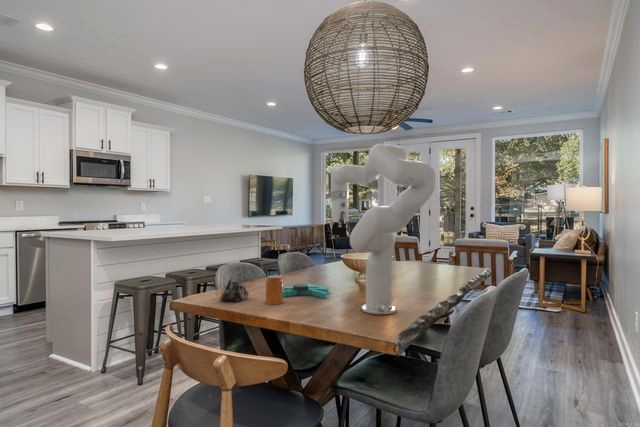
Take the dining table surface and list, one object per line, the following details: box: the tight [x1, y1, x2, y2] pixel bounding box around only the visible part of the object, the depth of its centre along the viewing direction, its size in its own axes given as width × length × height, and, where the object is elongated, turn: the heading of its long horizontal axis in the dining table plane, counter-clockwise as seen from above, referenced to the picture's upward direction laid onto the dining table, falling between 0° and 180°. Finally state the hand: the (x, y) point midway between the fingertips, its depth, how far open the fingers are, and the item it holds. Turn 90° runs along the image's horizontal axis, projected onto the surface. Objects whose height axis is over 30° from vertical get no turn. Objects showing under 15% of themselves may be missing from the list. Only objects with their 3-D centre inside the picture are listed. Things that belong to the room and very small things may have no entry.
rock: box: [219, 278, 250, 302], centre depth 169 cm, size 13×10×10 cm
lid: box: [293, 283, 309, 291], centre depth 181 cm, size 7×7×2 cm
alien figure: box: [282, 283, 330, 299], centre depth 184 cm, size 20×2×20 cm
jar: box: [265, 275, 284, 305], centre depth 165 cm, size 7×7×10 cm
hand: (338, 236), depth 174 cm, fingers open, 9 cm apart
